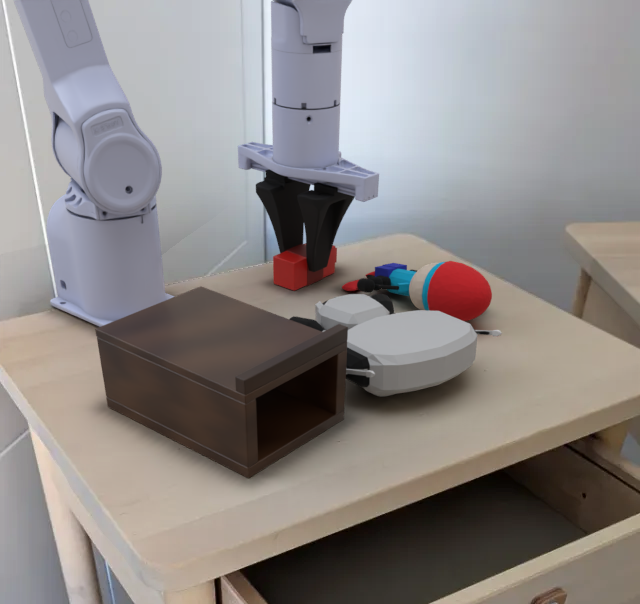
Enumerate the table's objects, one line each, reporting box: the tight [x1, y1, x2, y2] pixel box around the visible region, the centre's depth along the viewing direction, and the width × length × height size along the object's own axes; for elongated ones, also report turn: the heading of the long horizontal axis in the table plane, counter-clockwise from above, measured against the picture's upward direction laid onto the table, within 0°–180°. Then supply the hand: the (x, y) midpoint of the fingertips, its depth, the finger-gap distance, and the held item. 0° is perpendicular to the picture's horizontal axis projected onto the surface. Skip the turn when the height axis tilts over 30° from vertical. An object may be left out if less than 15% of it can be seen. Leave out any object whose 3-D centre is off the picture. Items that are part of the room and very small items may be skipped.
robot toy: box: [288, 293, 503, 397], centre depth 66 cm, size 12×4×15 cm
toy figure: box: [341, 260, 493, 322], centre depth 75 cm, size 8×5×15 cm
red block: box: [272, 242, 338, 292], centre depth 80 cm, size 3×7×3 cm, turn 141°
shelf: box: [94, 285, 348, 479], centre depth 59 cm, size 14×10×7 cm
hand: (304, 264), depth 80 cm, fingers closed on red block, 3 cm apart
